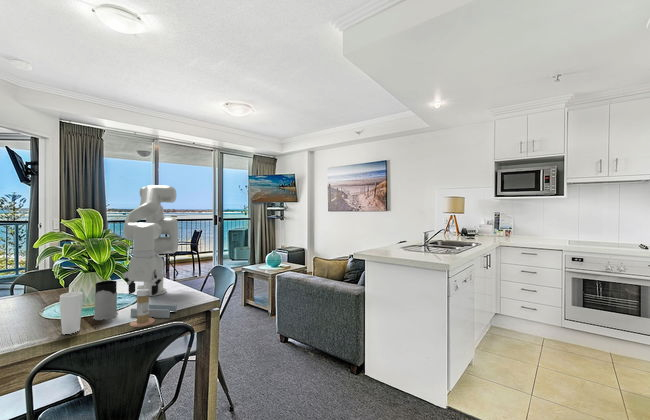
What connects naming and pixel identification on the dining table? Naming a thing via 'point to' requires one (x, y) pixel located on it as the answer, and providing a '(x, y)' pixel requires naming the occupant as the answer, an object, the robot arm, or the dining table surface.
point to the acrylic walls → (157, 310)
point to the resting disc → (135, 324)
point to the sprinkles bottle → (142, 305)
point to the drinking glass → (71, 311)
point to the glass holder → (105, 300)
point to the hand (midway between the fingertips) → (143, 293)
